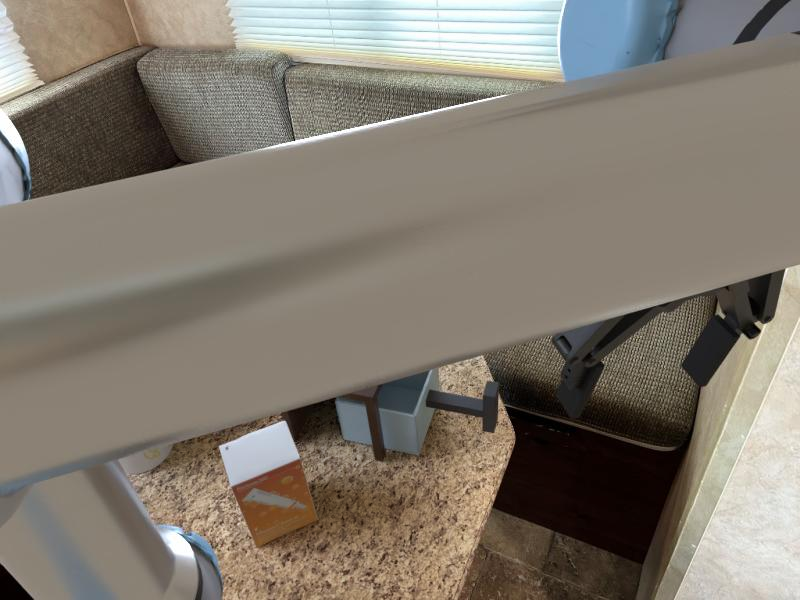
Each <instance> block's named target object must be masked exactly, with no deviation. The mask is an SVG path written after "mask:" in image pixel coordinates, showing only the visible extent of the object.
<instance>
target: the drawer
mask: <svg viewBox="0 0 800 600" xmlns="http://www.w3.org/2000/svg"><path fill="white" fill-rule="evenodd" d="M439 372H440V371H439V368H436V369H433V370H429V371H426V372H422V373H419V374H415V375H412V376H408V377H405V378H401V379H398V380H394V381H391V382H387V383H384V384H383V385H382V387H381V389H380V391H379V394H378V396H377V400H378V407H379V413H380V420H381V426H382V433H383V439H384V446H385V450H386V449H387V450H392V451H395V452H399V453H405V454H408V455H414V456H420V454H421V451H422V448H423V445H424V442H425V439H426V436H427V432H428V430H429V428H430V424H431V422H432V419H433V417H434V413H435V410H441V411H445V412H451V413H454V414H455V413H456V414H460V415H466V416H472V417H476V418H480V419H481V418H482V428H481V429H482V430H481V431H482V432H484V433H490V434H495V432H496V428H497V424H498V419H499V400H500V399H499V398H500V396H499V393H500V382H497V381H492V380H486V382H485V386H484V389H483V393H482V398H478V397H474V396H468V395H462V394H457V393H451V392H446V391H441V390H440V374H439ZM334 404H335V408H336V413H337V417H338V421H339V426H340V431H341V436H342V439H343V440H344V441H345V440H346V441H350V442H354V443H358V444H364V445H369V446H372V440H371V435H370V429H369V423H368V417H367V412H366V406H365V402H360V401H355V400H350V399H345V398H340V397H335V400H334Z"/></svg>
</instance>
